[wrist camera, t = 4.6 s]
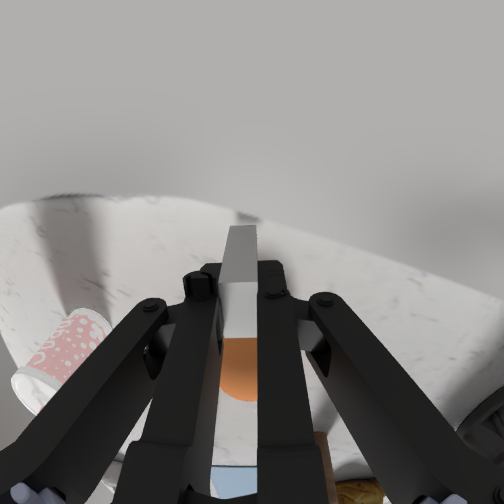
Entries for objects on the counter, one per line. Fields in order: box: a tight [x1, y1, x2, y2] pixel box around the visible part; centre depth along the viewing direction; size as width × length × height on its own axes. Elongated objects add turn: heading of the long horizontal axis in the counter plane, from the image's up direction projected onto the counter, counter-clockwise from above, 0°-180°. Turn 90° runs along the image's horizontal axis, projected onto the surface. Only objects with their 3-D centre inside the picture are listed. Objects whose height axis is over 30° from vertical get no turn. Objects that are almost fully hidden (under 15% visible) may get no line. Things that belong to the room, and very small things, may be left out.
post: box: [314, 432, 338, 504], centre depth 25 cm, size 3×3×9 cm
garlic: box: [102, 460, 123, 491], centre depth 32 cm, size 6×5×5 cm
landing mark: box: [210, 466, 257, 499], centre depth 35 cm, size 14×14×1 cm
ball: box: [219, 335, 257, 401], centre depth 21 cm, size 6×6×6 cm
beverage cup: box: [11, 308, 113, 416], centre depth 17 cm, size 6×6×14 cm
